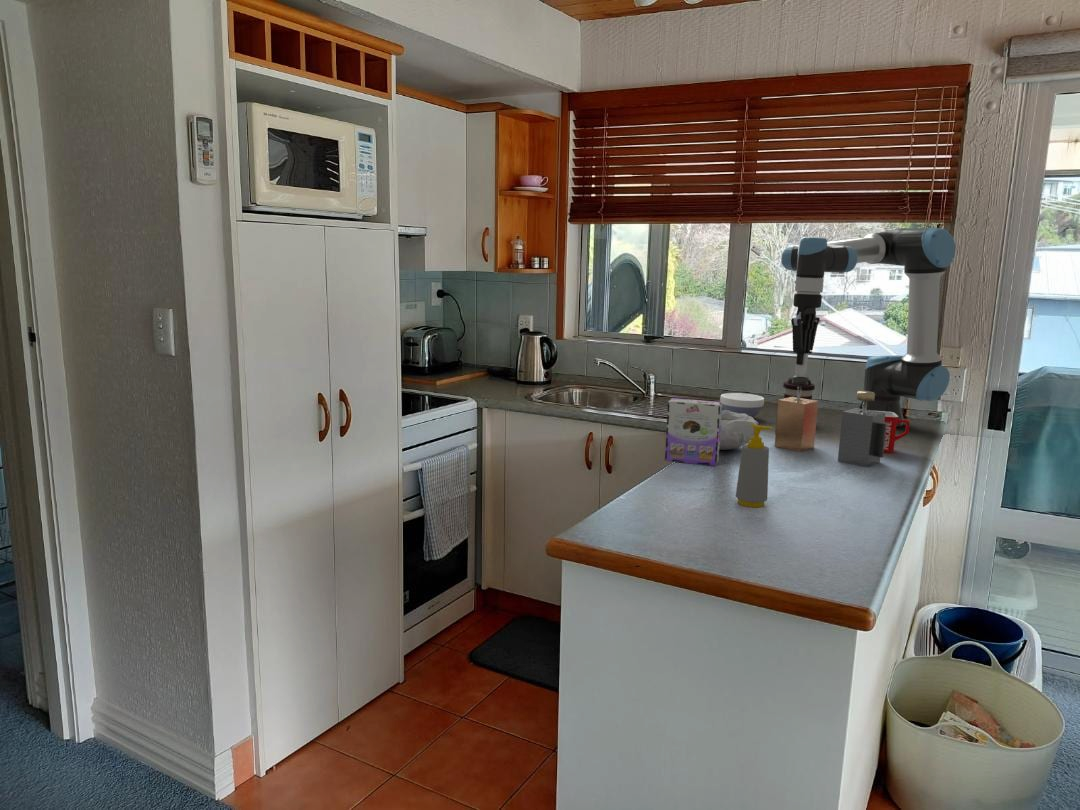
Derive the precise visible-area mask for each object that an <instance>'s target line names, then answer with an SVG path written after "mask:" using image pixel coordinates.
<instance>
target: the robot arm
mask: <svg viewBox="0 0 1080 810" xmlns="http://www.w3.org/2000/svg"><path fill="white" fill-rule="evenodd" d="M955 255H956V242H955V240H954V237H953V235H952V234H950V232H949V231H948V230H946V229H944V228H940V227H938V228H937V227H914V228H913V227H911V228H910V227H909V228H907V227H902V228H901V227H900V228H894V229H889V230H885V231H884V230H883V231H880V232H875V233H869V234H867V235H865V236H864V237H862V238H853V239H843V240H842V239H841V240H835V241H828V240H827V238H826V237H820V236H819V237H814V236H813V237H810V236H809V237H808V236H805V237H801V238H800V239H799V243H798V244H794V245H793V244H792V245H788V246H786V247H785V248H784V249H783V250H782V252H781V256H780V257H781V260H780V262H781V265H782V266H783V268H784V269H785V270H787V271H793V272H796V273H795V280H794V291H795V292H796V293H794V294H793V303H792V304H793V306H794V308H795V307H796V308H797V310H796V312H795V313H796V314H795V315H796V317H792V318H791V320H790V321H791V327H792V352H793V354H794V353H795V354H796V360H795V371H794V376H801V377H805V376H807V370H808V358H809V355H810V354H813V349H814V346H815V339H816V335H817V329H818V326H819V322H820V321H821V320H820V319H821V318H820V317H817V311H816V310H817V309H819V308H821V307H822V301H823V299H822V298H823V296H822V294H821V293H823V292H824V280H825V273H839V274H843V273H849V272H851V271H853V270H854V269H855V267H856V266H857V264H862V263H867V264H869V265H877V264H878V265H879V264H882V265H891V266H901V267H902V266H903V268H904V270H903V272H904V273H903V274H905V276H907V277H908V279H909V280H908V282H909V283H908V284H909V285H908V306H907V307H908V308H907V309H908V312H907V313H908V314H907V315H908V317H907V341H906V342H907V345H906V353H905V354H904V355H897V354H896V355H873V356H869V357H868V358H867V360H866V365H865V368H864V370H865V371H864V372H865V373H864V382H863V391H869V392H874V393H875V398H874V401H867V408H866V410H871V411H886V412H893V413H895V414H896V415H898V419H901V420H904V415H903V410H902V406H901V397H902V398H907V399H908V398H909V399H914V400H917V401H920V402H921V401H922V402H923V401H925V402H935V401H937V400H938V399H939V398H941V397H942V396H943V395H944V393H945V392H946V390H947V389H948V387H949V383H950V376H951V375H950V371H949V369H948V368H947V367H946V366H945V365H943V364H942V363H943V362H942V360H943V359H942V357H941V356H940V354H939V353H937V352H938V333H939V331H938V329H939V309H940V308H939V307H940V306H939V305H940V303H939V302H940V285H941V284H940V283H941V277H942V276H943V275H944V274H945V273H946V270H947V267H949V266H950V265H951V264H952V263H953V261H954V259H955ZM860 401H861V400H860ZM858 408H859V409H862V408H863V401H861V402H860V404H859V405H858ZM903 426H904V422H901V423H898V424H897V426H896V428H897V427H898V428H900V427H903Z"/></svg>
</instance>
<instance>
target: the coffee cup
mask: <svg viewBox="0 0 1080 810" xmlns="http://www.w3.org/2000/svg"><path fill="white" fill-rule="evenodd" d="M792 378H793V377H788V380H787V381H784V382H783V384H782V385H783V386H782V387H783V388H784V393H783V399H784V398H789V397H797V391H798V385H797V384H793V383H792ZM815 388H816V387H815V384H814V383H812V381H811V379H808V385H802V387H801V398H803V399H810V400H813V391H814V390H815Z"/></svg>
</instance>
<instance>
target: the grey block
mask: <svg viewBox="0 0 1080 810" xmlns="http://www.w3.org/2000/svg"><path fill="white" fill-rule="evenodd" d="M884 421H885V413H884V412H878V411H871V410H866V413H862V409H859V407H854V408H851V409H847V410H844V411H842V415H841V426H840V434H839V435H840V436H839V445H838V453H837V454H838V456H837V462H842V463H846V464H849V465H856V466H859V467H865V468H870V467H872V466H874V465H876V464H880V462H881V458H883V457H884V453H883V452H884V443H885V434H886V425H887V424H884Z"/></svg>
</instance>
